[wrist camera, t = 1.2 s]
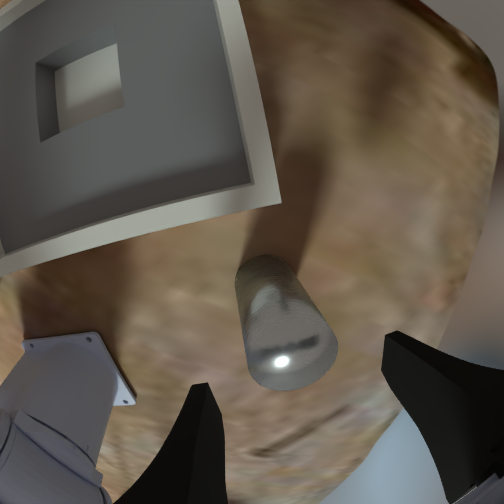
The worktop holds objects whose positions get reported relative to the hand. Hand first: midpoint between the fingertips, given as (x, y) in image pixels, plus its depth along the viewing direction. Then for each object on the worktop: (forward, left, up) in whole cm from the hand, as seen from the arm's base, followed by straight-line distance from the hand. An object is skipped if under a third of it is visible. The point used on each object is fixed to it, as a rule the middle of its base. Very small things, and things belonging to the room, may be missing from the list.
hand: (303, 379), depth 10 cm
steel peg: (0, 0, -9) cm, 9 cm away
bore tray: (-8, +15, -9) cm, 19 cm away
